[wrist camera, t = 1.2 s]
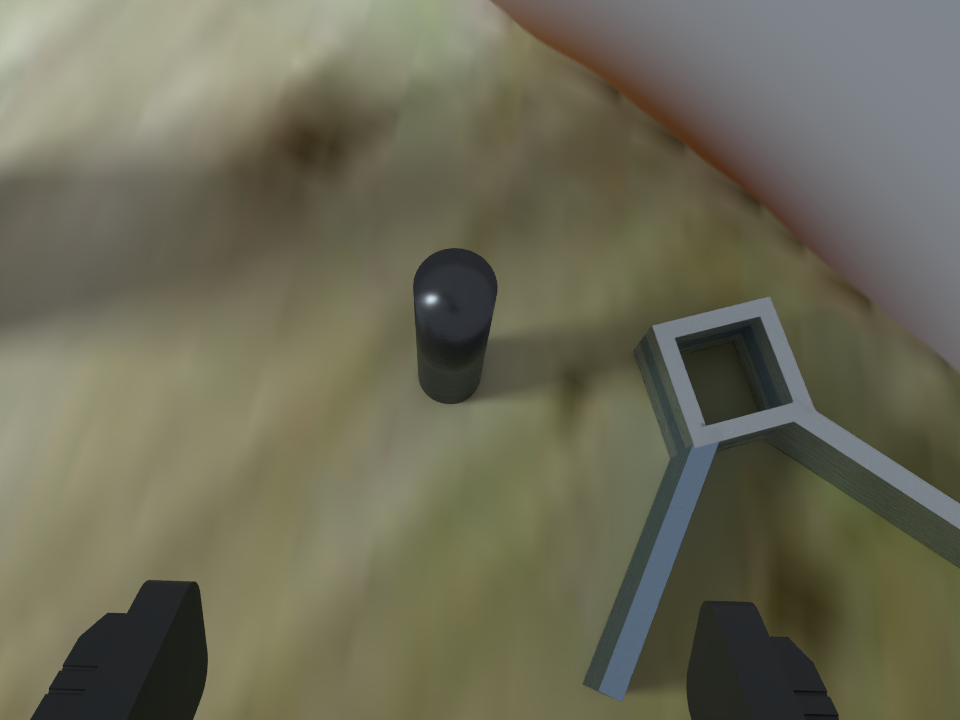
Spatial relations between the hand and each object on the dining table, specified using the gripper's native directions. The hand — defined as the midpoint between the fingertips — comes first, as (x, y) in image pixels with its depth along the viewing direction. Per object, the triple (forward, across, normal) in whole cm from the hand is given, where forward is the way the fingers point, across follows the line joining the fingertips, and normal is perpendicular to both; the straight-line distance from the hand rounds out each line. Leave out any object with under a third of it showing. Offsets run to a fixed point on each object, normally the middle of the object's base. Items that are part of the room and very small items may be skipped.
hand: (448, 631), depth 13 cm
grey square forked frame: (+23, -14, +12) cm, 29 cm away
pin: (+26, 0, +8) cm, 27 cm away
